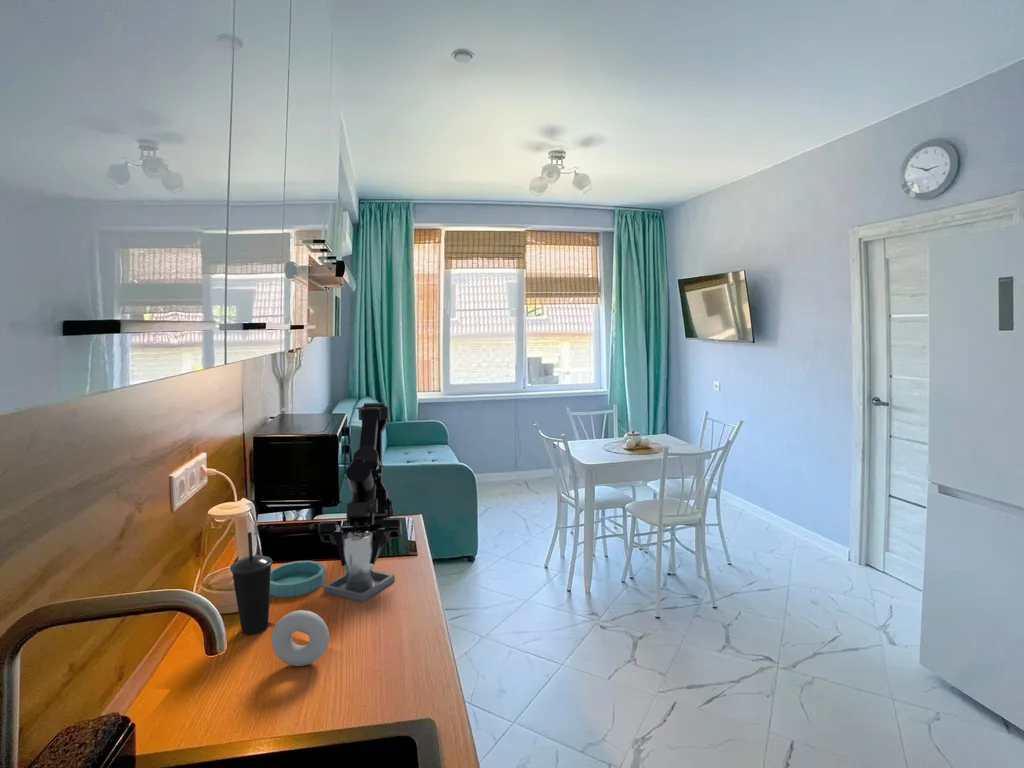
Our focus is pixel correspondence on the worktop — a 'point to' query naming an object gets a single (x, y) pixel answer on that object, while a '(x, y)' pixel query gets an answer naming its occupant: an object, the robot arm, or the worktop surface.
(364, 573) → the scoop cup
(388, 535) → the robot arm
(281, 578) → the bowl
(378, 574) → the parts tray
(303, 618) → the donut
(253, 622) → the drinking cup
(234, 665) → the worktop surface
